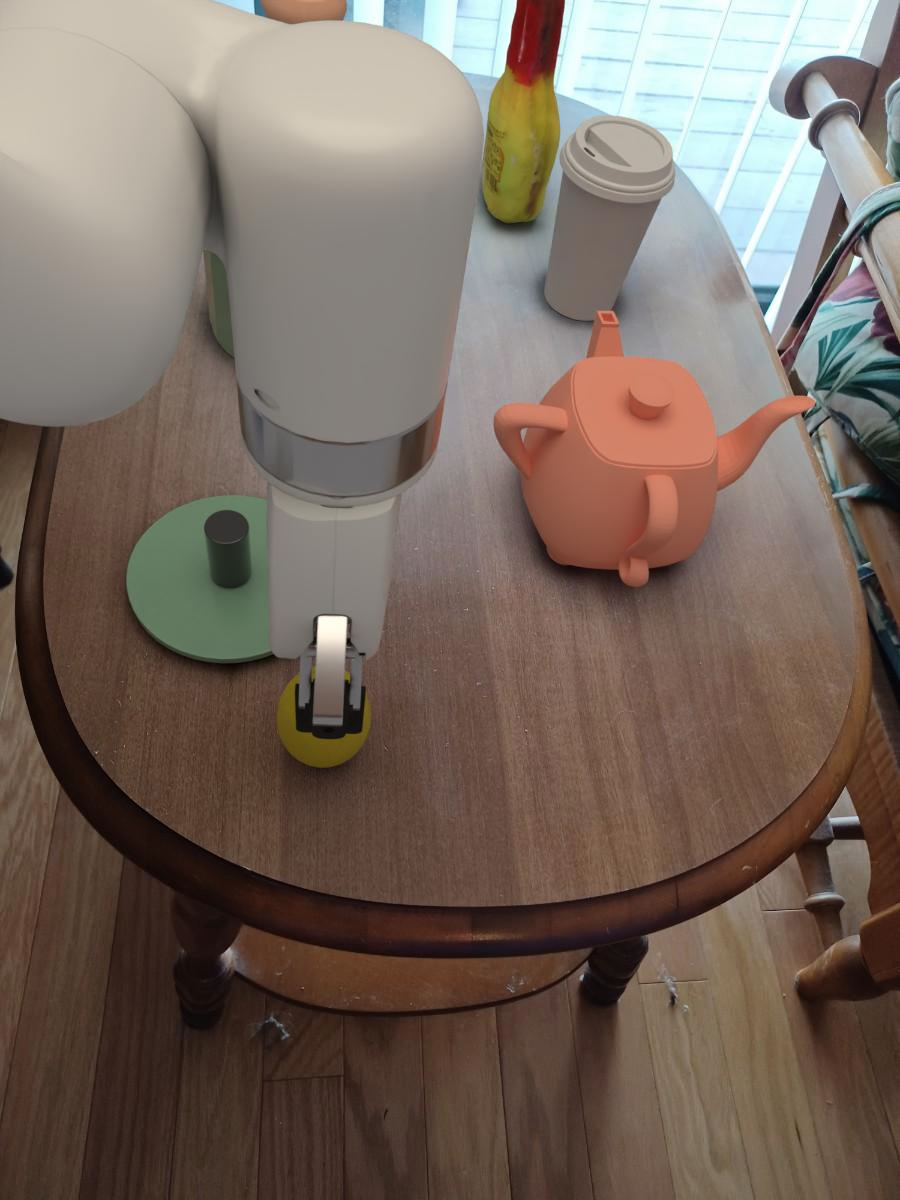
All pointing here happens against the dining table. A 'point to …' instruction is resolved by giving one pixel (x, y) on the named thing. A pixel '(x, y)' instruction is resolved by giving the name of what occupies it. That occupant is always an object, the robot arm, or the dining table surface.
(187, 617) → the pot lid
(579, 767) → the dining table surface
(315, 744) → the lemon
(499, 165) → the bottle
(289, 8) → the salt shaker
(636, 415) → the teapot
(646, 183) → the coffee cup
